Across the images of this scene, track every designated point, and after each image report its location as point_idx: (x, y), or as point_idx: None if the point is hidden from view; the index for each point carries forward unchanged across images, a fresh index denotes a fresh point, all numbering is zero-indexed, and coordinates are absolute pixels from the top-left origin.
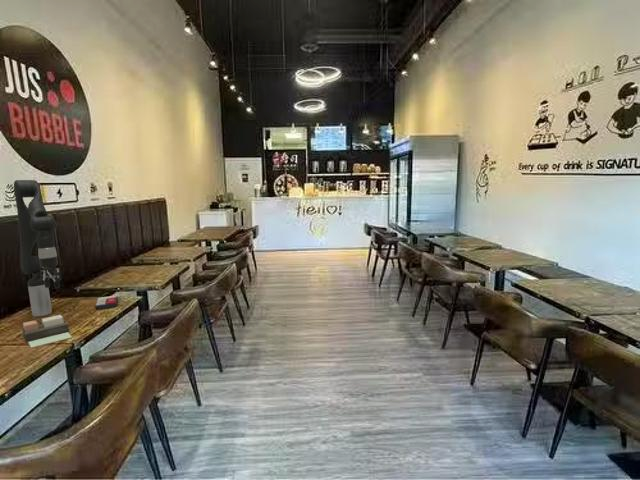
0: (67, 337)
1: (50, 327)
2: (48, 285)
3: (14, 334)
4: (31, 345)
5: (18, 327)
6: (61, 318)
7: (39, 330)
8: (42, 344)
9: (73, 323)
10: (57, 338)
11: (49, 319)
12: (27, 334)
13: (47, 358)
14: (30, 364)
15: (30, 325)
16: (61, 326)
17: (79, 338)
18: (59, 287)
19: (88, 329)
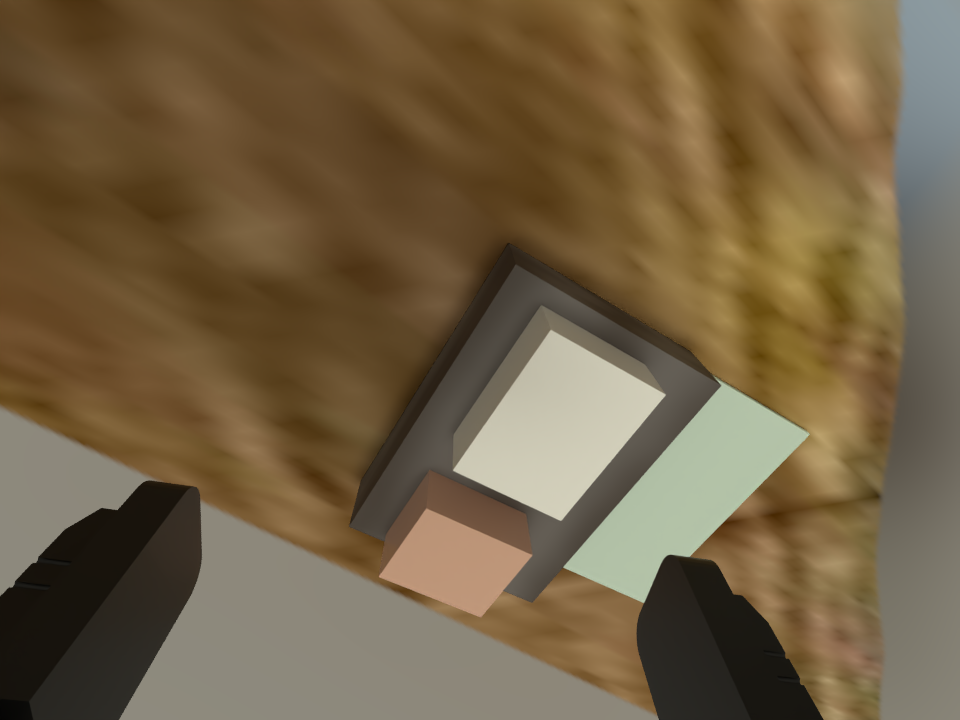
0: (778, 447)
1: (606, 469)
2: (171, 561)
3: (245, 472)
4: (618, 585)
5: (69, 355)
6: (652, 401)
7: (567, 532)
8: None
9: (538, 146)
10: (710, 476)
11: (563, 468)
12: (538, 592)
13: (859, 654)
14: (815, 704)
15: (502, 585)
16: (684, 424)
17: (876, 427)
18: (708, 579)
19: (833, 258)
